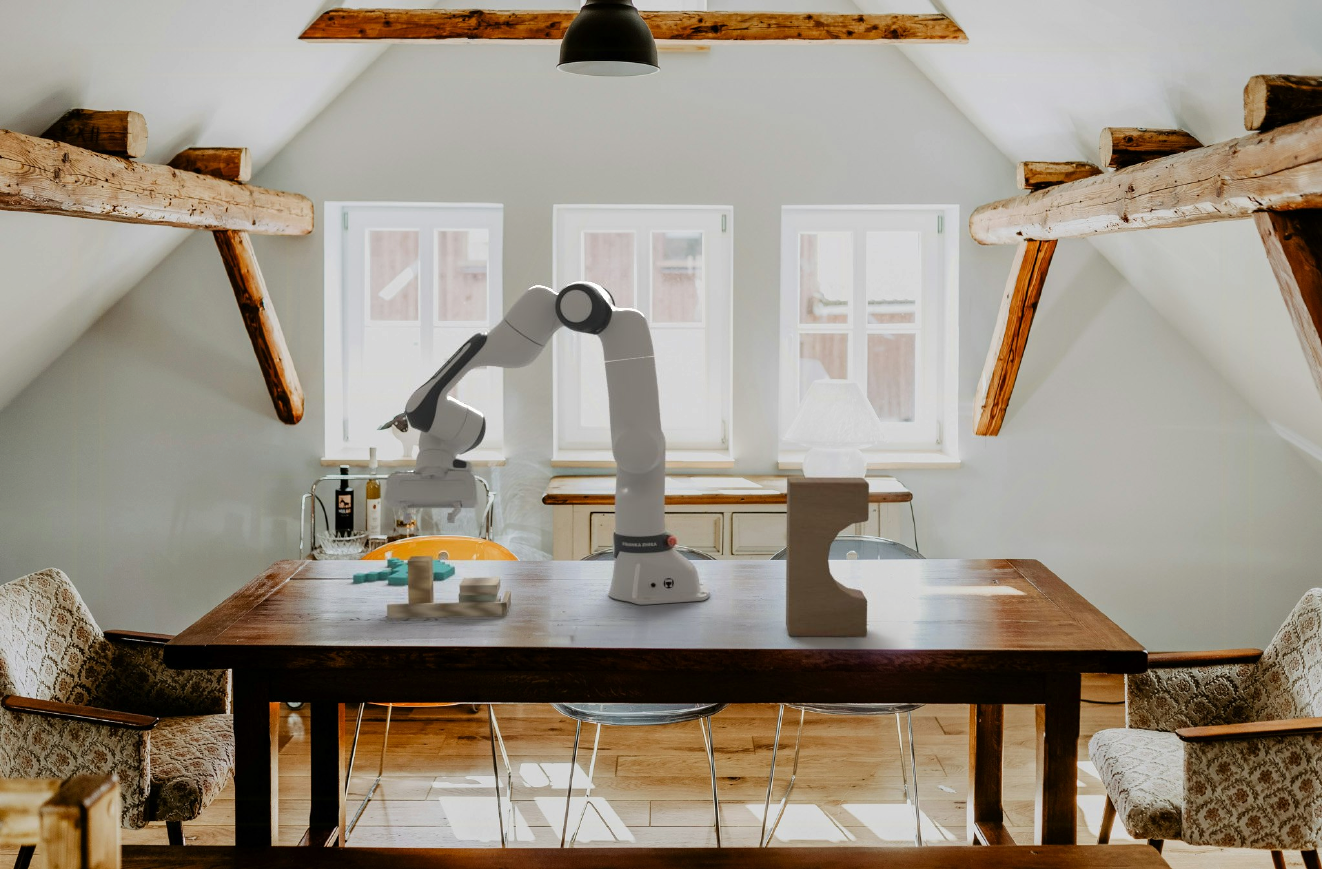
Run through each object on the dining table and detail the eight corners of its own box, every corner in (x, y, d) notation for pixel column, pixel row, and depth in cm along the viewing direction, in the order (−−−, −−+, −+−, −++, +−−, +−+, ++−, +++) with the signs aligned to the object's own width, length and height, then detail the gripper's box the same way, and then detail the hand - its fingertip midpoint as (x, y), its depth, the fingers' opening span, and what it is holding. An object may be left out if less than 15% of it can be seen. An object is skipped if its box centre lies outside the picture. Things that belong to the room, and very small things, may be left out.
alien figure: (353, 584, 247) (432, 588, 243) (353, 575, 247) (432, 578, 243) (391, 566, 266) (465, 569, 262) (391, 557, 266) (465, 560, 262)
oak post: (433, 607, 218) (432, 556, 217) (430, 613, 214) (429, 560, 213) (412, 608, 218) (411, 556, 217) (408, 613, 214) (407, 560, 213)
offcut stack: (500, 605, 221) (500, 577, 220) (497, 613, 214) (497, 584, 213) (462, 605, 220) (462, 577, 220) (458, 614, 213) (457, 585, 213)
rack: (510, 608, 222) (510, 591, 222) (506, 621, 212) (506, 602, 212) (396, 610, 221) (396, 593, 221) (387, 623, 211) (386, 605, 211)
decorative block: (861, 626, 208) (863, 477, 205) (867, 637, 200) (869, 482, 197) (785, 626, 208) (786, 477, 206) (788, 636, 201) (789, 482, 198)
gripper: (386, 462, 233) (378, 513, 224) (478, 462, 234) (474, 513, 225) (390, 480, 237) (382, 530, 229) (481, 479, 239) (476, 529, 230)
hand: (428, 521), depth 227 cm, fingers open, 8 cm apart
